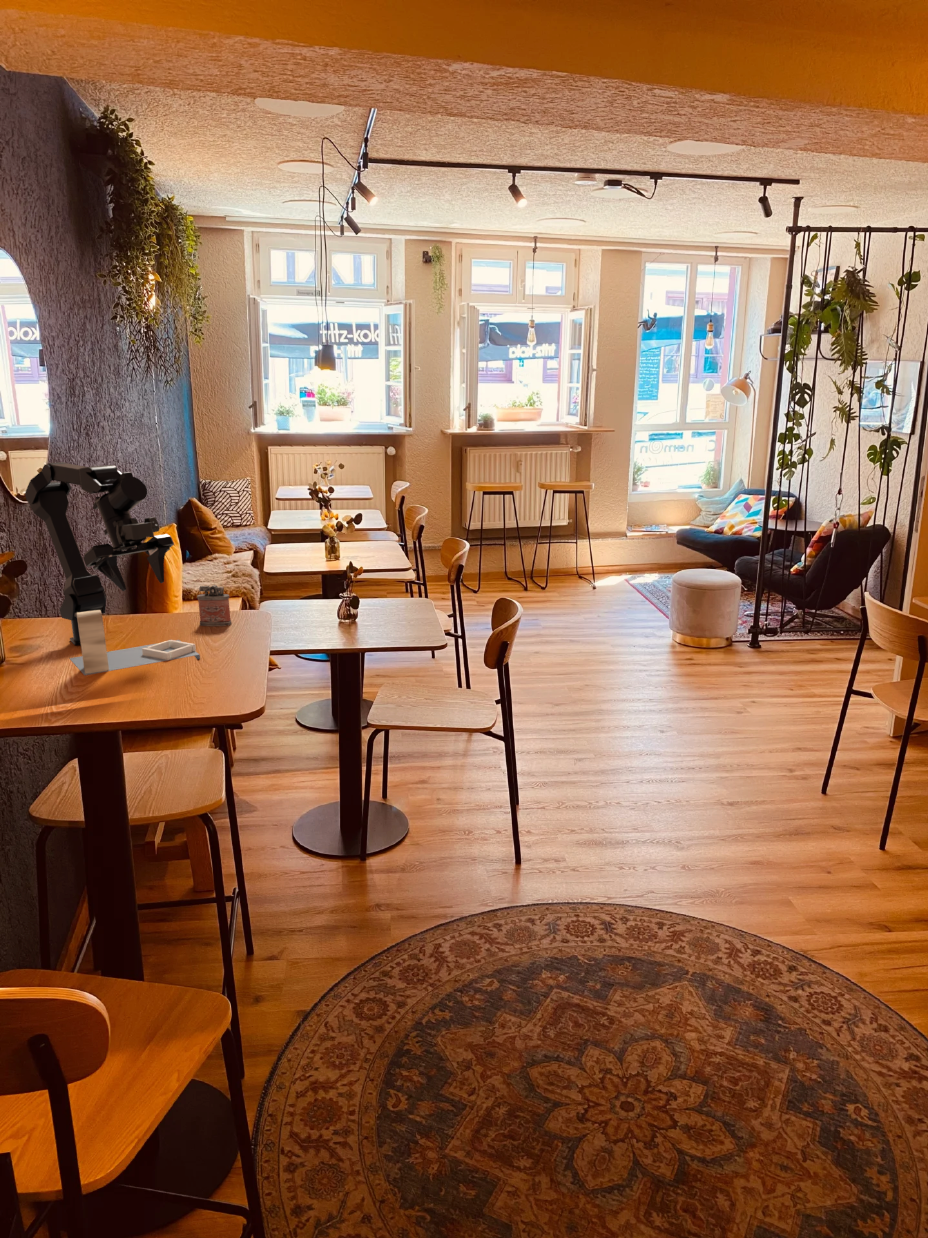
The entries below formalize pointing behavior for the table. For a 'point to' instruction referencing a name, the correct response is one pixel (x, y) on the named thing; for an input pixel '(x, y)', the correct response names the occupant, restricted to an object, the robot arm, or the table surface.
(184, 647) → the socket
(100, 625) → the birch pillar
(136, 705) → the table surface
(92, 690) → the table surface
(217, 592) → the lighter
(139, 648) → the plate
